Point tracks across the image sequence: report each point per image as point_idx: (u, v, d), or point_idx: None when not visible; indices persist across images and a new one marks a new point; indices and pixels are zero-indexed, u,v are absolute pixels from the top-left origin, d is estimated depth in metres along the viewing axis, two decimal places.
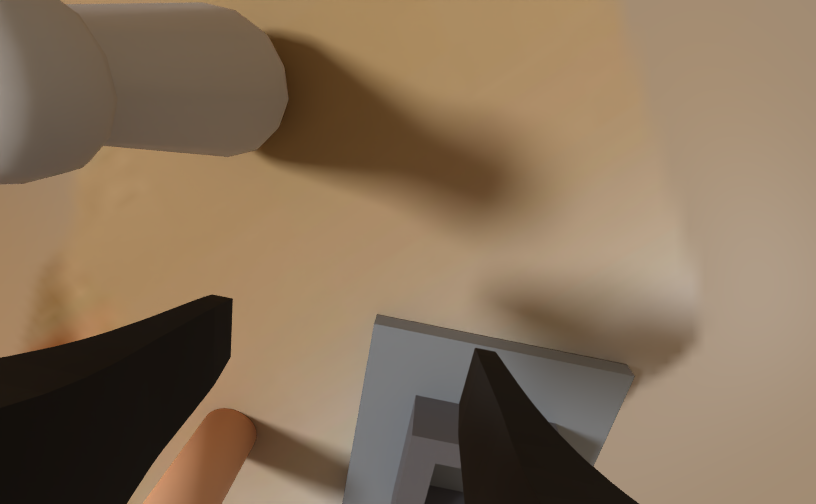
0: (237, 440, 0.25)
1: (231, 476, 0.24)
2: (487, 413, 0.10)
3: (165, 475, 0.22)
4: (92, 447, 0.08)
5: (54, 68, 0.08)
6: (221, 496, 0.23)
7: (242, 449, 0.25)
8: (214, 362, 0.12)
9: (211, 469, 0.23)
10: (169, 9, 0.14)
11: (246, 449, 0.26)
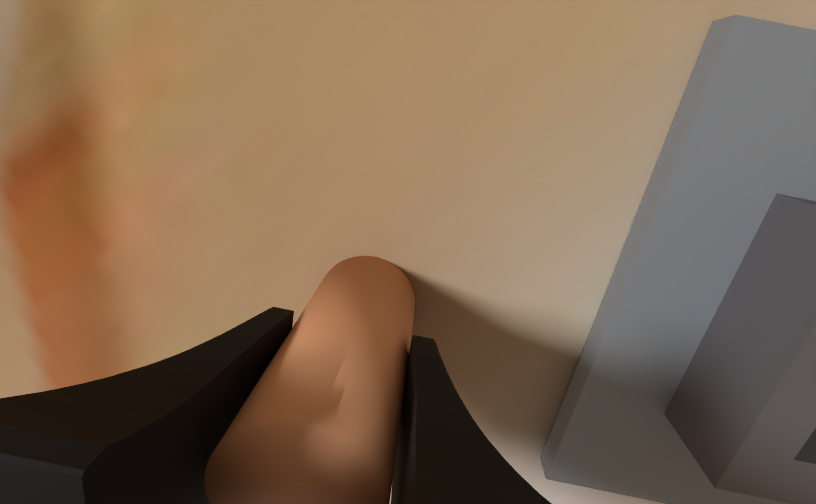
0: (402, 299, 0.13)
1: None
2: (410, 397, 0.10)
3: (293, 336, 0.11)
4: (189, 467, 0.08)
5: None
6: (404, 385, 0.11)
7: (411, 318, 0.14)
8: None
9: (383, 330, 0.11)
10: None
11: None
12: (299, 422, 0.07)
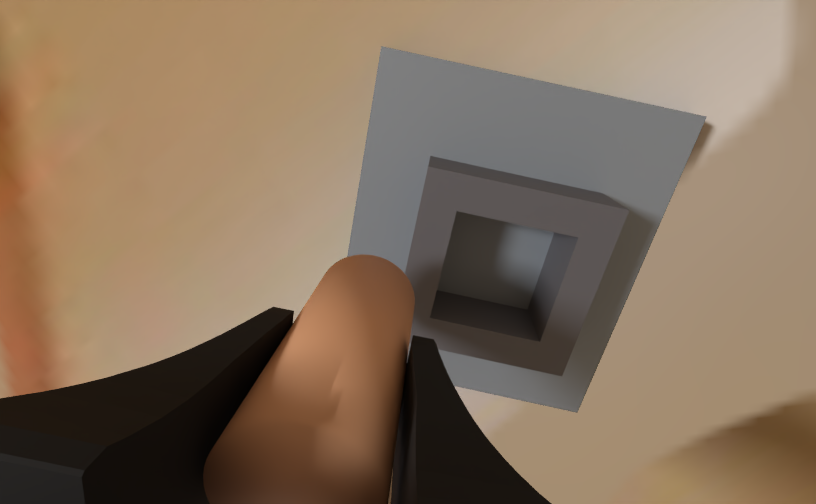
0: (402, 298, 0.13)
1: (406, 355, 0.12)
2: (410, 397, 0.10)
3: (293, 334, 0.10)
4: (189, 467, 0.08)
5: None
6: (403, 384, 0.11)
7: (410, 317, 0.14)
8: None
9: (383, 328, 0.11)
10: None
11: None
12: (300, 420, 0.07)
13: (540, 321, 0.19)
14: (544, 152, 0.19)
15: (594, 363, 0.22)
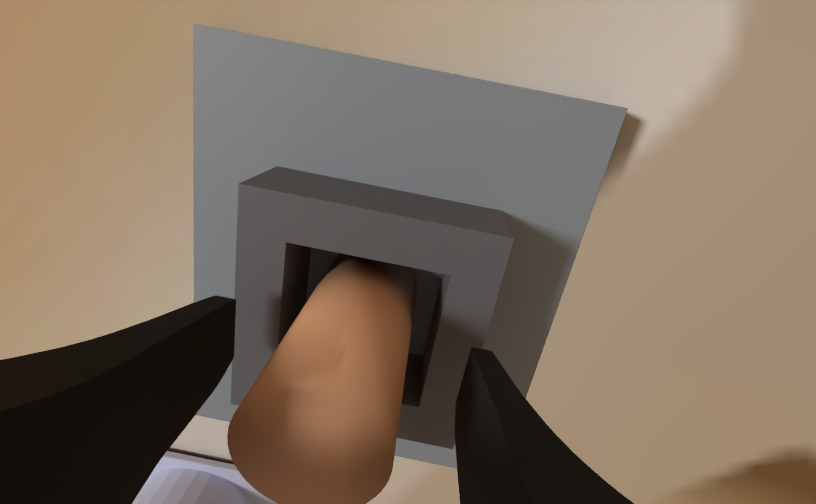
0: (405, 284, 0.14)
1: (409, 335, 0.13)
2: (482, 412, 0.10)
3: (305, 313, 0.11)
4: (98, 448, 0.08)
5: None
6: (406, 362, 0.12)
7: (412, 302, 0.14)
8: (218, 363, 0.12)
9: (388, 310, 0.12)
10: None
11: (414, 306, 0.15)
12: (315, 383, 0.08)
13: (423, 378, 0.15)
14: (421, 159, 0.14)
15: None
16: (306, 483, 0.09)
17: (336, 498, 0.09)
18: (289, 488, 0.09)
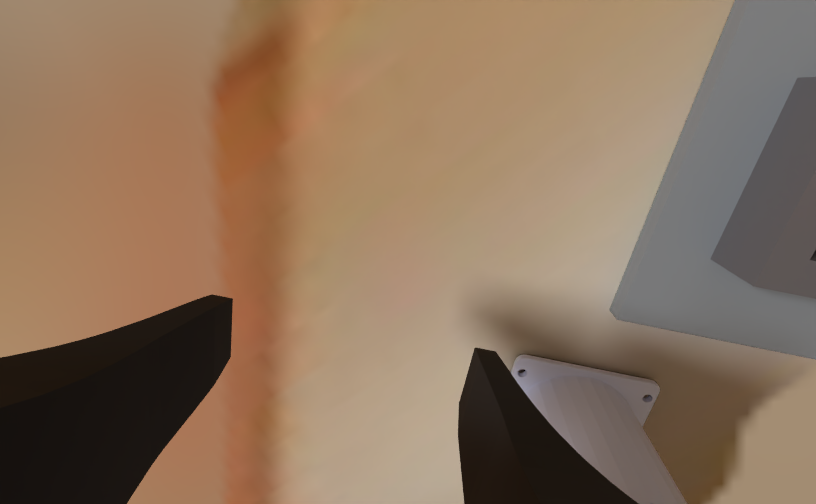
0: None
1: None
2: (487, 413, 0.10)
3: None
4: (92, 447, 0.08)
5: None
6: None
7: None
8: (214, 362, 0.12)
9: None
10: None
11: None
12: None
13: None
14: None
15: None
16: None
17: None
18: None
